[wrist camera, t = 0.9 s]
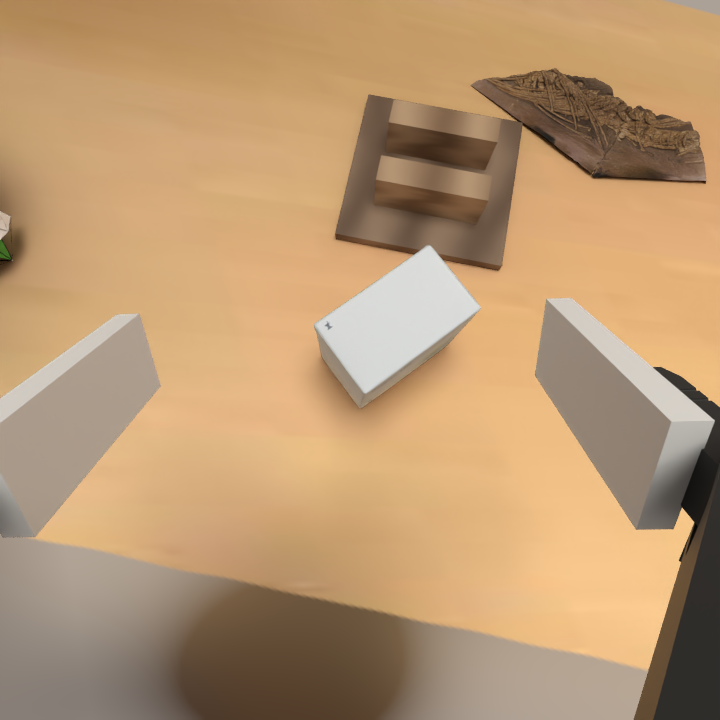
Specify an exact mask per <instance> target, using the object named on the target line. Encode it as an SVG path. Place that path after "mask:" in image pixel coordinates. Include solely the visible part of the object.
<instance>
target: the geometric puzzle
mask: <svg viewBox="0 0 720 720" xmlns="http://www.w3.org/2000/svg"><path fill="white" fill-rule="evenodd" d="M10 218H11V216H9V215H7V214H5V213H4V212H2V211H0V258H5V259H9V260H0V261H8V262H9V261H13V259H12V258H11V256H10V254H9V252H8V250H7V248H6V247H5V245H4V243H3V241H2V238H3V237H4V236H5V235H6V234H7V233H8V232H9V226H10ZM11 242H12V237H11ZM3 264H4V263H3ZM0 265H1V264H0Z"/></svg>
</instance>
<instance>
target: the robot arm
mask: <svg viewBox="0 0 720 720" xmlns="http://www.w3.org/2000/svg"><path fill="white" fill-rule="evenodd" d="M535 376H536V378H537V379H538V381H539V382H540V384H541V385H542V387H543V388H544V390H545V391H546V393H547V394H548V396H549V398H550V399H551V401H552V402H553V404H554V405H555V407H556V408H557V410H558V411H559V413H560V414H561V416H562V417H563V419H564V420H565V422H566V423H567V425H568V427H569V428H570V430H571V431H572V433H573V434H574V436H575V437H576V439H577V440H578V442H579V443H580V445H581V446H582V448H583V449H584V451H585V452H586V454H587V456H588V457H589V459H590V460H591V462H592V463H593V465H594V466H595V468H596V469H597V471H598V472H599V474H600V475H601V477H602V478H603V480H604V481H605V483H606V485H607V486H608V488H609V489H610V491H611V492H612V494H613V495H614V497H615V498H616V500H617V501H618V503H619V504H620V506H621V507H622V509H623V510H624V512H625V514H626V515H627V517H628V518H629V520H630V521H631V523H632V524H633V526H634V527H635V529H636V530H640V529H674V526H675V524H676V521H677V519H678V516H679V513H680V511H681V508H683V509H684V510H685V511H686V512H687V514H688V515H689V516H690V517H691V519H692V520H693V521H694V525H693V527H692V530H691V532H690V535H689V537H688V540H687V542H686V545H685V547H684V549H683V552H682V554H681V557H680V559H679V561H681V565H680V568H679V571H678V574H677V578H676V581H675V584H674V588H673V591H672V594H671V598H670V601H669V604H668V608H667V611H666V614H665V618H664V621H663V624H662V628H661V631H660V634H659V638H658V641H657V644H656V647H655V651H654V654H653V657H652V661H651V664H650V667H649V671H648V674H647V678H646V681H645V684H644V687H643V691H642V694H641V697H640V701H639V704H638V707H637V711H636V714H635V717H634V720H720V407H719V406H717V405H716V404H715V403H714V402H712V401H708V398H707V397H706V396H705V395H704V394H702V393H701V392H700V391H696V388H695V387H694V386H692V385H691V384H690V383H689V382H687V381H686V380H685V379H684V378H682V377H681V376H679V375H677V374H675V373H672V372H670V371H668V370H666V369H664V368H662V367H652V366H650V365H649V364H648V363H647V362H646V361H645V360H643V359H642V358H641V357H640V356H639V355H637V354H636V353H635V352H634V351H633V350H632V349H630V348H629V347H628V346H627V345H626V344H625V343H623V342H622V341H621V340H620V339H619V338H618V337H616V336H615V335H614V334H613V333H612V332H611V331H609V330H608V329H607V328H606V327H605V326H604V325H602V324H601V323H600V322H599V321H598V320H596V319H595V318H594V317H593V316H592V315H591V314H589V313H588V312H587V311H586V310H585V309H584V308H582V307H581V306H580V305H579V304H578V303H577V302H575V301H574V300H573V299H572V298H557V299H546V305H545V311H544V318H543V325H542V331H541V338H540V345H539V351H538V358H537V365H536V371H535ZM160 386H161V385H160V382H159V378H158V375H157V371H156V368H155V365H154V361H153V358H152V354H151V351H150V348H149V344H148V341H147V337H146V334H145V331H144V327H143V324H142V320H141V317H140V314H117V315H115V316H114V317H113V318H111V319H110V320H108V321H107V322H106V323H104V324H103V325H102V326H100V327H99V328H97V329H96V330H95V331H93V332H92V333H90V334H89V335H88V336H86V337H85V338H83V339H82V340H81V341H79V342H78V343H77V344H75V345H74V346H72V347H71V348H70V349H68V350H67V351H65V352H64V353H63V354H61V355H60V356H58V357H57V358H56V359H54V360H53V361H52V362H50V363H49V364H47V365H46V366H45V367H43V368H42V369H40V370H39V371H38V372H36V373H35V374H33V375H32V376H31V377H29V378H28V379H26V380H25V381H24V382H22V383H21V384H20V385H18V386H17V387H15V388H14V389H13V390H11V391H10V392H8V393H7V394H6V395H4V396H3V397H1V398H0V534H1V536H2V537H36V536H37V534H38V533H39V532H40V531H41V529H42V528H43V527H44V526H45V525H46V523H47V522H48V521H49V520H50V519H51V517H52V516H53V515H54V514H55V513H56V511H57V510H58V509H59V508H60V507H61V505H62V504H63V503H64V502H65V501H66V499H67V498H68V497H69V496H70V495H71V493H72V492H73V491H74V490H75V489H76V487H77V486H78V485H79V484H80V483H81V481H82V480H83V479H84V478H85V477H86V475H87V474H88V473H89V472H90V471H91V469H92V468H93V467H94V466H95V465H96V463H97V462H98V461H99V460H100V458H101V457H102V456H103V455H104V454H105V452H106V451H107V450H108V449H109V448H110V446H111V445H112V444H113V443H114V442H115V440H116V439H117V438H118V437H119V436H120V434H121V433H122V432H123V431H124V430H125V428H126V427H127V426H128V425H129V424H130V422H131V421H132V420H133V419H134V418H135V416H136V415H137V414H138V413H139V412H140V410H141V409H142V408H143V407H144V406H145V404H146V403H147V402H148V401H149V400H150V398H151V397H152V396H153V395H154V394H155V392H156V391H157V390H158V389H159V388H160Z"/></svg>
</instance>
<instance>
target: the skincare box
mask: <svg viewBox="0 0 720 720" xmlns="http://www.w3.org/2000/svg"><path fill="white" fill-rule="evenodd" d="M480 309H481V307H480V306H479V304H478V303H477V301H476V300H475V299H474V298H473V296H472V295H471V294H470V293H469V291H468V290H467V289H466V288H465V287H464V285H463V284H462V283H461V282H460V280H459V279H458V278H457V277H456V276H455V274H454V273H453V272H452V271H451V269H450V268H449V267H448V266H447V265H446V263H445V262H444V261H443V260H442V258H441V257H440V256H439V255H438V254H437V252H436V251H435V250H434V249H433V248H432V247H431V246H430V245H427V246H425V247H424V248H423V249H421V250H420V251H419V252H417V253H416V254H414V255H413V256H412V257H410V258H409V259H407V260H406V261H405V262H403V263H402V264H400V265H399V266H397V267H396V268H395V269H393V270H392V271H390V272H389V273H387V274H386V275H385V276H383V277H382V278H380V279H379V280H377V281H376V282H375V283H373V284H372V285H370V286H369V287H367V288H366V289H364V290H363V291H362V292H360V293H359V294H357V295H356V296H354V297H353V298H351V299H350V300H348V301H347V302H345V303H344V304H343V305H341V306H340V307H338V308H337V309H335V310H334V311H332V312H331V313H329V314H328V315H326V316H325V317H324V318H322V319H321V320H319V321H318V322H316V323H315V324H314V328H315V330H316V333H317V338H318V342H319V346H320V351H321V356H322V358H323V360H324V361H325V363H326V364H327V365H328V367H329V368H330V369H331V371H332V372H333V374H334V375H335V376H336V378H337V379H338V380H339V382H340V383H341V384H342V386H343V387H344V388H345V390H346V391H347V393H348V394H349V395H350V397H351V398H352V399H353V401H354V402H355V403H356V405H357V406H358V407H359V408H362V407H364V406H365V405H367V404H368V403H370V402H371V401H373V400H374V399H375V398H377V397H378V396H380V395H381V394H382V393H384V392H385V391H386V390H388V389H389V388H391V387H392V386H393V385H395V384H396V383H397V382H399V381H400V380H402V379H403V378H404V377H406V376H407V375H408V374H410V373H411V372H412V371H414V370H415V369H416V368H418V367H419V366H420V365H422V364H423V363H425V362H426V361H427V360H429V359H430V358H431V357H433V356H434V355H435V354H437V353H438V352H439V351H440V350H442V349H443V348H444V347H446V346H447V345H448V344H449V343H450V342H451V341H452V340H453V339H454V337H455V336H456V335H457V334H458V333H459V332H460V331H461V330H462V329H463V328H464V327H465V326H466V324H467V323H468V322H469V321H470V320H471V319H472V318H473V317H474V316H475V314H476V313H477V312H478V311H479V310H480Z"/></svg>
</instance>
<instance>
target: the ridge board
mask: <svg viewBox="0 0 720 720" xmlns="http://www.w3.org/2000/svg"><path fill="white" fill-rule="evenodd" d="M522 125H523V123H522V122H516V121H511V120H505V119H500V118H494V117H489V116H483V115H478V114H473V113H467V112H462V111H456V110H451V109H445V108H440V107H434V106H429V105H423V104H418V103H413V102H407V101H402V100H396V99H391V98H385V97H380V96H374V95H368V99H367V103H366V108H365V112H364V116H363V120H362V124H361V128H360V133H359V137H358V141H357V145H356V149H355V154H354V158H353V162H352V166H351V170H350V174H349V179H348V183H347V187H346V191H345V195H344V200H343V204H342V208H341V212H340V216H339V221H338V225H337V229H336V233H335V235H336V239H340V240H345V241H350V242H355V243H361V244H366V245H371V246H376V247H381V248H386V249H391V250H397V251H402V252H407V253H412V254H416V253H417V252H419V251H420V250H421V249H423V248H424V247H425V246H427V245H430V246H431V247H432V248H433V249H434V250H435V251H436V252H437V254H438V255H439V256H440V257H441V258H442V259H443V260H448V261H453V262H458V263H463V264H468V265H474V266H479V267H484V268H489V269H494V270H499V269H500V268H501V266H502V261H503V254H504V248H505V241H506V234H507V227H508V220H509V214H510V207H511V200H512V193H513V186H514V179H515V173H516V166H517V159H518V152H519V145H520V139H521V132H522Z"/></svg>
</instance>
